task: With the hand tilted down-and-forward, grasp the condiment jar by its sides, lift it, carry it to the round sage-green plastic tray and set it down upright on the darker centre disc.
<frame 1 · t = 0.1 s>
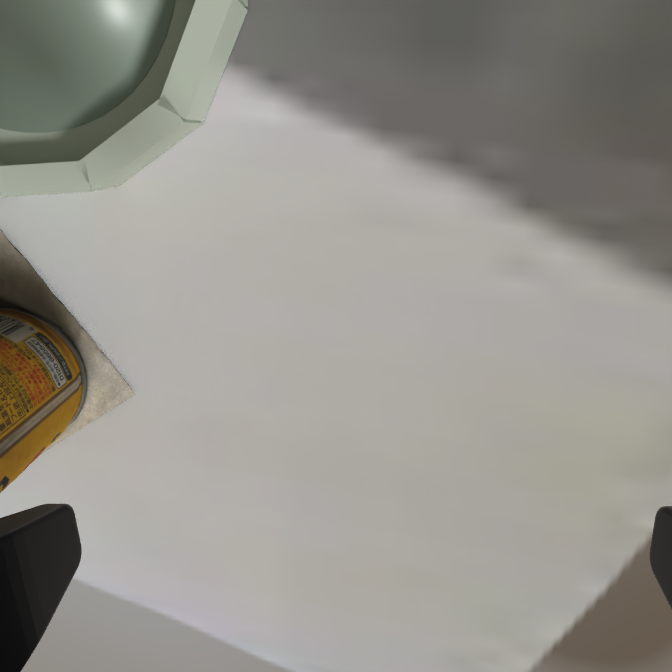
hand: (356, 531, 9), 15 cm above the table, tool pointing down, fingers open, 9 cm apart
condiment: (9, 353, 25), on the table
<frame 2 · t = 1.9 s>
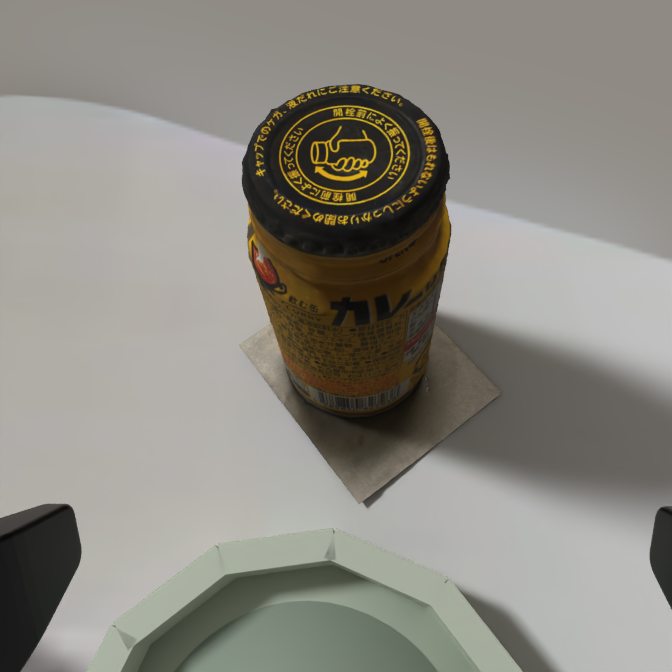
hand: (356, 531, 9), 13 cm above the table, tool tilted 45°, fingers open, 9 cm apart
condiment: (366, 372, 25), on the table
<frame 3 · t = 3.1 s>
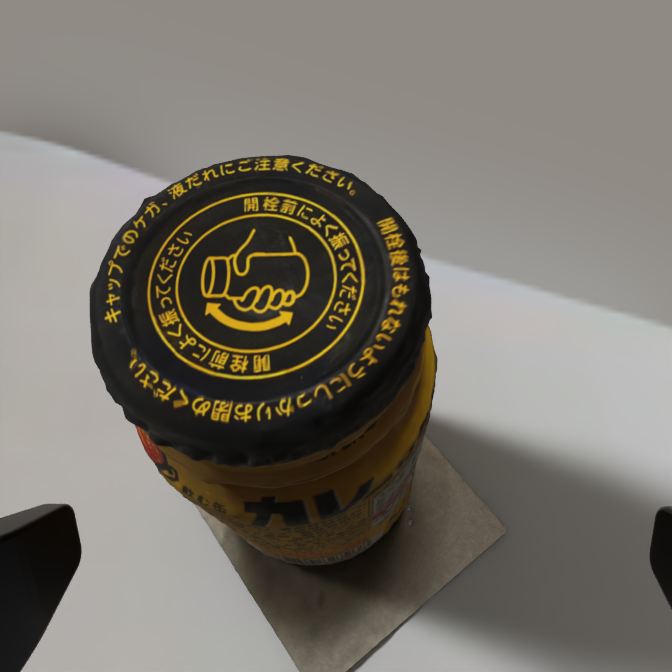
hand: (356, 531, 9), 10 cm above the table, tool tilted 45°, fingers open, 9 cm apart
condiment: (330, 496, 19), on the table
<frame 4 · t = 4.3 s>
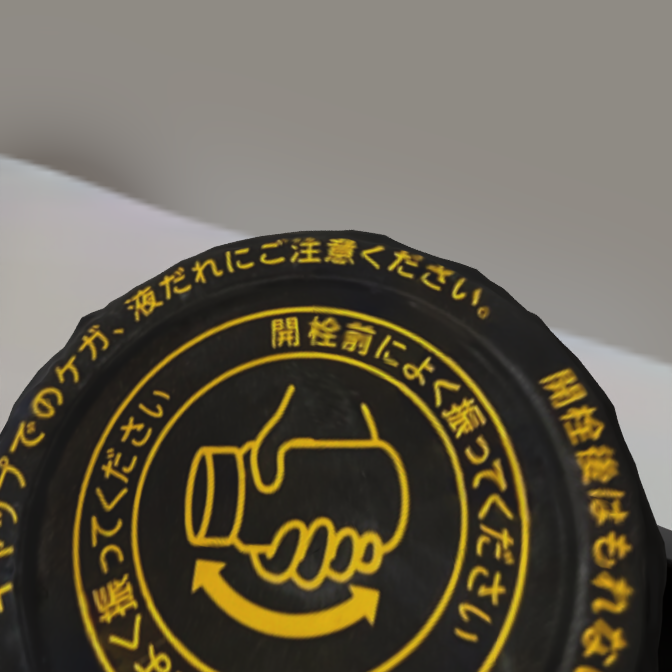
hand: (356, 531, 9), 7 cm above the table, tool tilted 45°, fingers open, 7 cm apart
condiment: (368, 632, 15), on the table, touching gripper
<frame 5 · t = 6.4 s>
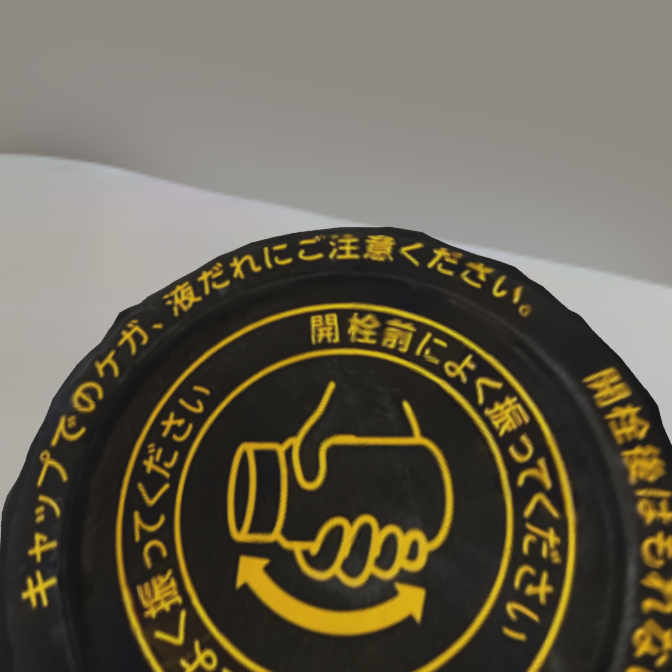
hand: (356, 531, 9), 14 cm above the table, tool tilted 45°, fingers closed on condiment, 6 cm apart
condiment: (380, 631, 15), point 7 cm above the table, touching gripper
when the fingers open (8 cm above the table, at t = 8.4 s): condiment drops 1 cm, resting on round tray.
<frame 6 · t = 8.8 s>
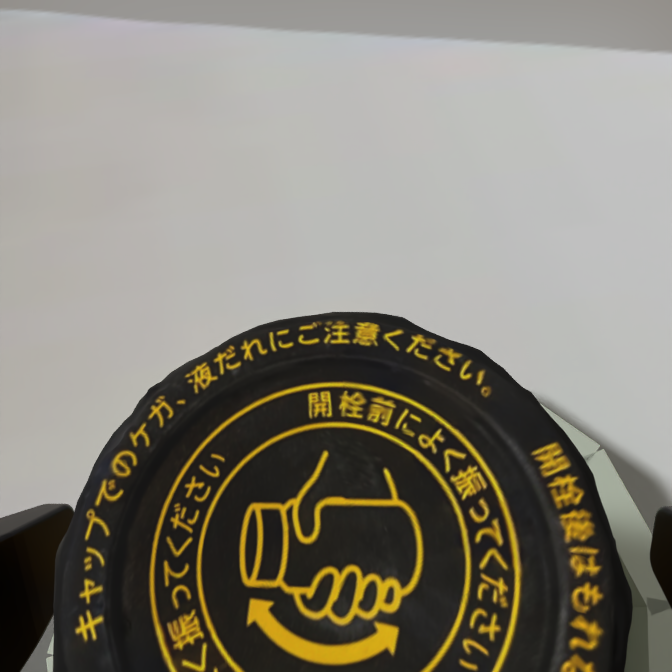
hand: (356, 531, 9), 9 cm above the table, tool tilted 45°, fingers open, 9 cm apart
round tray: (366, 629, 16), on the table
condiment: (375, 639, 16), resting on round tray
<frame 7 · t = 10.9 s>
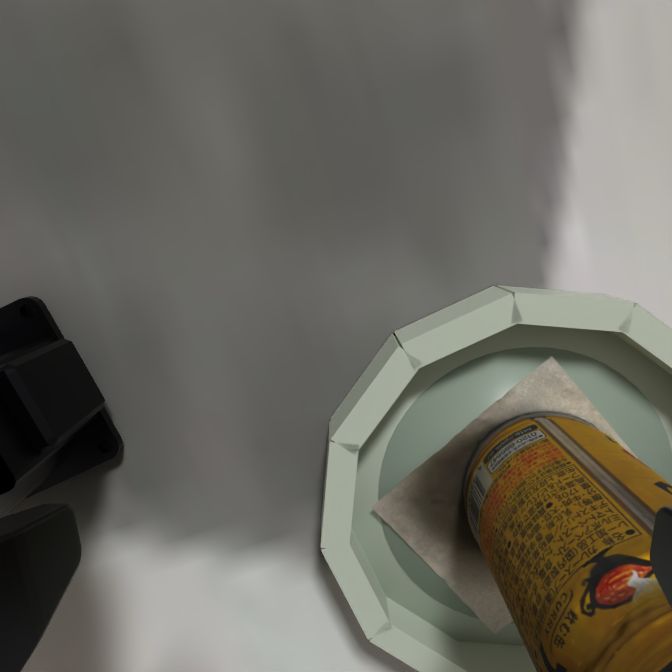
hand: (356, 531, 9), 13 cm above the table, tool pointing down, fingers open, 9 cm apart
round tray: (520, 484, 23), on the table
condiment: (518, 496, 22), resting on round tray
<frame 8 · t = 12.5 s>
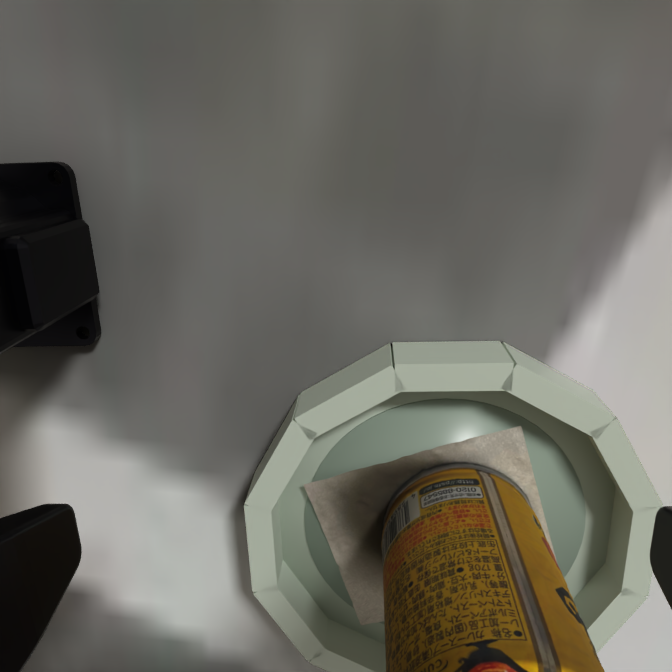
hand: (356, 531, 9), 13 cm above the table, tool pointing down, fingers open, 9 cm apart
round tray: (440, 515, 24), on the table
condiment: (434, 526, 24), resting on round tray
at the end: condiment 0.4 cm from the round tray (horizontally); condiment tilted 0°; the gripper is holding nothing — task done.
